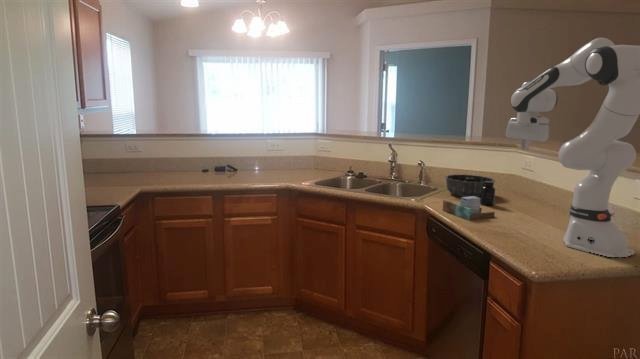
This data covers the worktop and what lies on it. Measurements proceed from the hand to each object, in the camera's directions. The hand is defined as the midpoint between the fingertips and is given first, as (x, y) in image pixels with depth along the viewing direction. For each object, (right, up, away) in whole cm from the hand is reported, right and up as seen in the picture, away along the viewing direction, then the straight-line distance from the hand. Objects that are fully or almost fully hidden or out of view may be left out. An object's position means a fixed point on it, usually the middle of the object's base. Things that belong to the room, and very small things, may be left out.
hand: (524, 149), depth 192 cm
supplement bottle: (-6, -27, +28) cm, 39 cm away
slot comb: (-22, -30, +9) cm, 38 cm away
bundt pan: (-8, -23, +51) cm, 56 cm away
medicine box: (-23, -30, +6) cm, 39 cm away
